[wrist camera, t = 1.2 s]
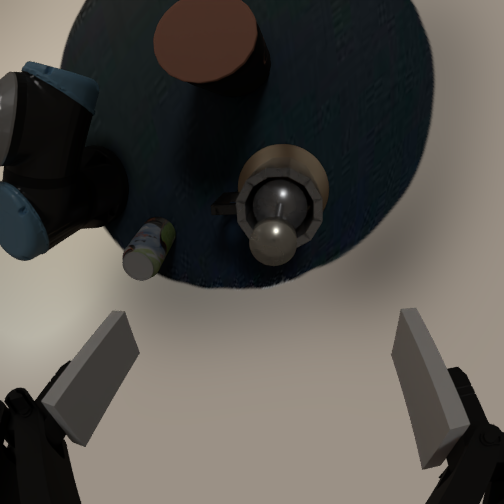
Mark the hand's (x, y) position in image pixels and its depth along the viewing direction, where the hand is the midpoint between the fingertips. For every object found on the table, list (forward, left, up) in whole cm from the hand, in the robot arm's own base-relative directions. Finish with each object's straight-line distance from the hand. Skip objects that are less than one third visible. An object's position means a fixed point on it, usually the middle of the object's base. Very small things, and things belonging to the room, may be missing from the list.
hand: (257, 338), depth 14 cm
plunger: (0, -1, -26) cm, 26 cm away
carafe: (-2, -1, -36) cm, 36 cm away
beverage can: (-21, -8, -37) cm, 43 cm away
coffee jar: (-6, +19, -37) cm, 42 cm away
